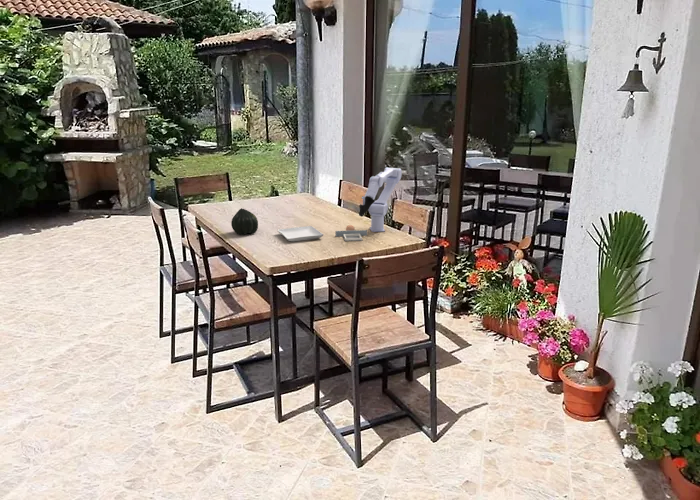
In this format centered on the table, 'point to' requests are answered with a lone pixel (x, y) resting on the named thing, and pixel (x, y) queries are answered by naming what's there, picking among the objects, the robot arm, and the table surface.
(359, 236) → the white square tray
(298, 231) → the salad plate
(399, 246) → the table surface
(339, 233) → the low wall
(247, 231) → the squash
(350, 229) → the ball
